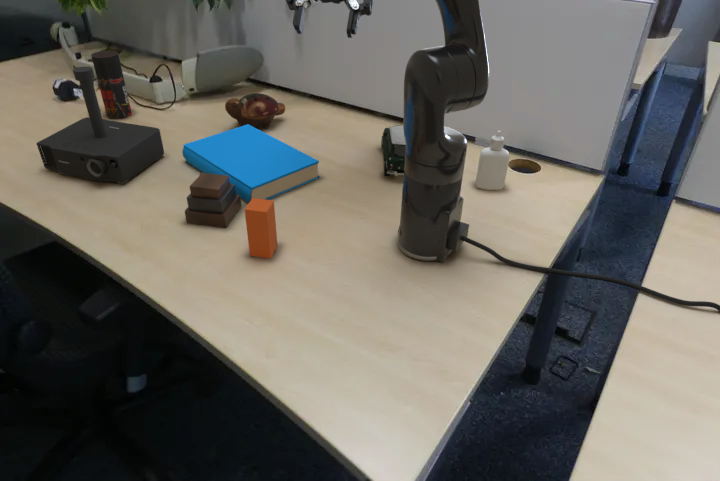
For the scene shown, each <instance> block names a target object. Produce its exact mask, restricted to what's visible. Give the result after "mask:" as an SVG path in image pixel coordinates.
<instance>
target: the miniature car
mask: <svg viewBox="0 0 720 481" xmlns="http://www.w3.org/2000/svg"><path fill="white" fill-rule="evenodd" d="M380 142H381V146H380V148H381V149H380V150H381V151H382V158H383V177H385V178H386V177H391V175H394V176H395V177H397V176H404V164H405V150H406V142H405V137H404V130H403V124H399V125H398V124H397V125H393V126H389V127H385V128H384V130H383V132H382V136H381V141H380Z"/></svg>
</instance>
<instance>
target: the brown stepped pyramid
mask: <svg viewBox="0 0 720 481" xmlns="http://www.w3.org/2000/svg"><path fill="white" fill-rule="evenodd" d="M189 191H190V193H189V194H188V196H186V202H187V207H186V209H185V210H184V216H185V221H186V223H188V224H194V225H203V226H207V227H208V226H210V227H217V228H224V229H226V228H227V227H228V226H229V225H230V224H231V222H232V221H233V219H234V218H235V216H236V215H237V213H238V212H239V211H240V209H241V208H242V198H241V197H240V195H236V190H235V184H230V179H229V176H226V175H218V174H209V173H203V172H201V173H200V174H199V175H198V177H197V178H195V180H194V181H192V183H190V185H189Z"/></svg>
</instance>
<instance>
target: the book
mask: <svg viewBox="0 0 720 481" xmlns="http://www.w3.org/2000/svg"><path fill="white" fill-rule="evenodd" d="M182 147H183V148H182V156H183V158H184V159H185V161H186V163H188V164H190V165H191V166H193V168H195V169H197V170H198V171H200V172H201V173H209V174H218V175H226V176H229V179H230V184H235V190H236V195H240V198H241V200H242V199H243V200H244V201H245V202H247V203H248V204H249V202H250V201H251V200H252V198H257V199H265V200H271V199H273V198H275V197H279V196H281V195H282V194H285V193H287V192H290V191H293V190H294V189H297V188H299V187H301V186H304V185H306V184H309V183H311V182H314V181H316V180H318V179H320V175H319V163H320V160H318V159H316V158H314V157H313V156H311V155H308V154H306V153H304V152H303V151H301V150H299V149H297V148H294V147H293V146H292V145H289V144H287V143H285V142H284V141H282V140H280V139H278V138H277V137H274V136H272V135H270V134H268V133H266V132H265V131H262V130H260V129H258V128H256V127H255V128H254V127H253V126H251V125H249V124H247V125H244V124H243V125H241V126H239V127H235V128H232V129H228V130H225V131H222V132H218V133H216V134H213V135H209V136H206V137H203V138H200V139H197V140H194V141H190V142H188V143H184V144H183V146H182Z"/></svg>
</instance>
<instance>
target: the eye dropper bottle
mask: <svg viewBox="0 0 720 481" xmlns="http://www.w3.org/2000/svg"><path fill="white" fill-rule="evenodd" d="M504 142H505V138H504V136H502V131H501V130H497V131H496V133H495V135H492V136H491V138H490V142H489V143H490V144H489V146H488V147H485V148H483V149H481V151H480V153H479V158H478V164H477V171H476V176H475V186H476V188H478V189H481V190H486V191H500V190H503V189H504V187H505V183H506V178H507V173H508V168H509V164H510V158H511V156H510V153H509V151H508V150H507V149H506V148H504Z"/></svg>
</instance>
